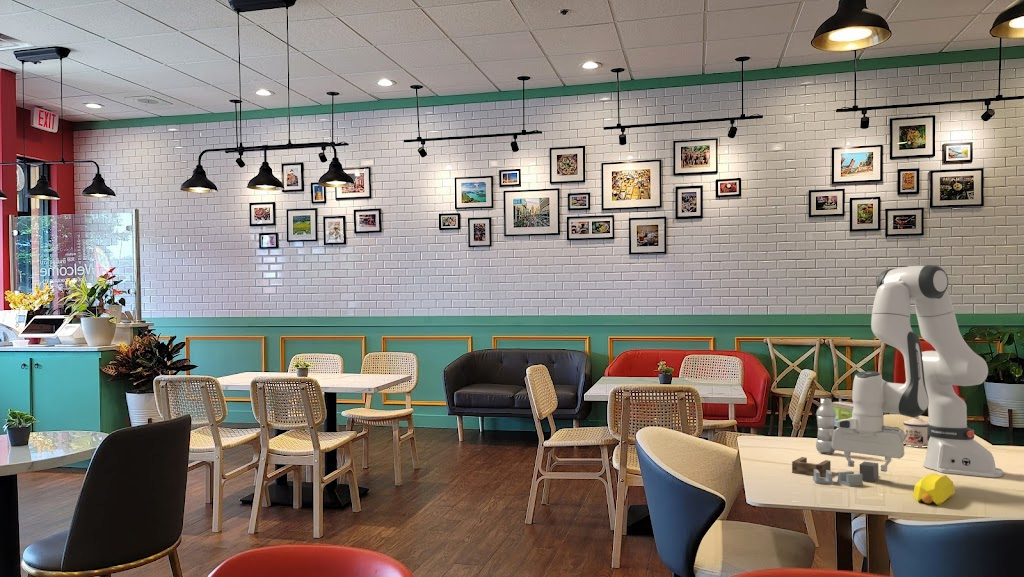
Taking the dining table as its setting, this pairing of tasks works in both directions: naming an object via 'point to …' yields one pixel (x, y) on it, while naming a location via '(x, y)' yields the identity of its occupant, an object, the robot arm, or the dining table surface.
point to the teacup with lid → (915, 432)
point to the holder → (810, 467)
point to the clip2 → (822, 480)
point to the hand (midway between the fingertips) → (867, 468)
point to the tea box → (842, 410)
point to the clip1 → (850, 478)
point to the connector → (869, 471)
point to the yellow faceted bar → (934, 489)
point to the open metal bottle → (825, 426)
